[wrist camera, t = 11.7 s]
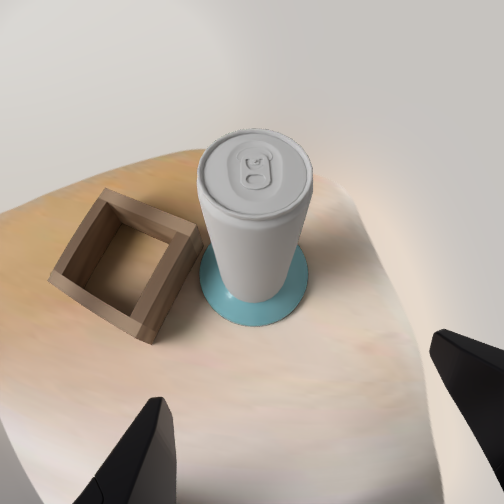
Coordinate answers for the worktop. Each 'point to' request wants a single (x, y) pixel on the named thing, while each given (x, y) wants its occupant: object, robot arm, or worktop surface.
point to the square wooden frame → (95, 243)
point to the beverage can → (254, 208)
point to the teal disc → (253, 312)
